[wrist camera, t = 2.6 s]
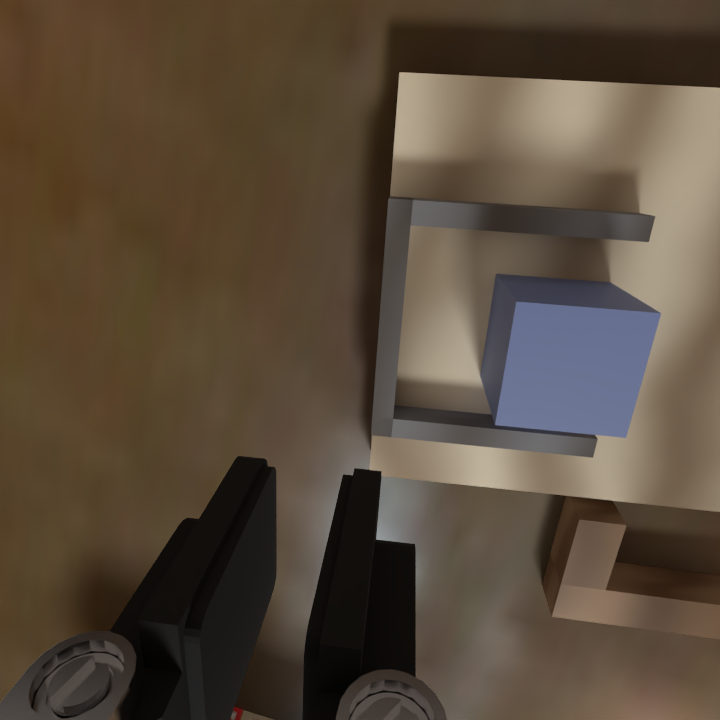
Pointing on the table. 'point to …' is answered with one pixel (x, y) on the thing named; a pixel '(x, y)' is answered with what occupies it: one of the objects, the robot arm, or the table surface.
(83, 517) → the table surface
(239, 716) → the stack of blocks
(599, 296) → the indigo block
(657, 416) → the board
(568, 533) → the walnut crook
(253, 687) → the table surface
